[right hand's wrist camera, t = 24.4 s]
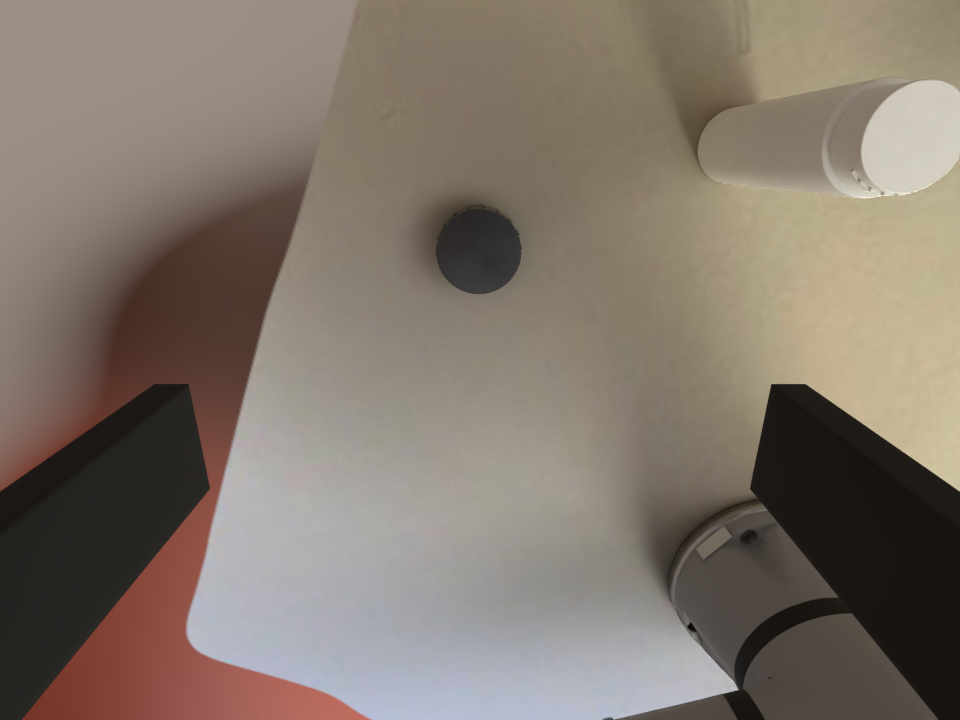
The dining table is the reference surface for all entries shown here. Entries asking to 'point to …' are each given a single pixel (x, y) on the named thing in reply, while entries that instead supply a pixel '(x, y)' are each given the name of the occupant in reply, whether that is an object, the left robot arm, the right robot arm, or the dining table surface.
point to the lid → (478, 250)
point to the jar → (839, 139)
